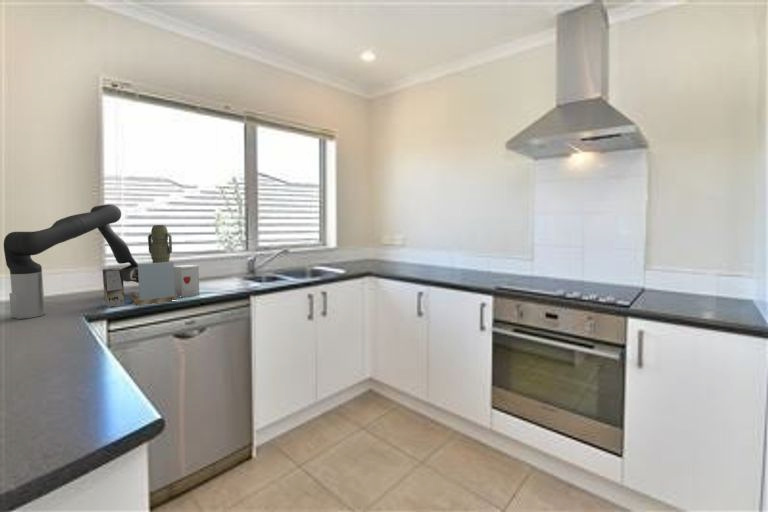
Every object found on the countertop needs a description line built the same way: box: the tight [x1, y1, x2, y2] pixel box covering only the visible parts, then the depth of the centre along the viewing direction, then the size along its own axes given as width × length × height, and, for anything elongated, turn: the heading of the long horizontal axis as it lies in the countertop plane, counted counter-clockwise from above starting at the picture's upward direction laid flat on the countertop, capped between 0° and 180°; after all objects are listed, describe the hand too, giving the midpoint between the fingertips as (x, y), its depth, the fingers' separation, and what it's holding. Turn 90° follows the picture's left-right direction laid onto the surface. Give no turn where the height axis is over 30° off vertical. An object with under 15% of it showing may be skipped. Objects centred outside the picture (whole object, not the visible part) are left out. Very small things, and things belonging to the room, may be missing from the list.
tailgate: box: [137, 261, 175, 300], centre depth 176 cm, size 14×1×16 cm, turn 133°
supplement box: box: [174, 264, 200, 298], centre depth 197 cm, size 9×9×15 cm
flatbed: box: [130, 291, 178, 306], centre depth 182 cm, size 16×12×4 cm
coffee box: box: [102, 267, 125, 308], centre depth 174 cm, size 9×6×16 cm
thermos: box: [147, 224, 173, 263], centre depth 209 cm, size 9×12×35 cm
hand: (153, 279), depth 180 cm, fingers closed
